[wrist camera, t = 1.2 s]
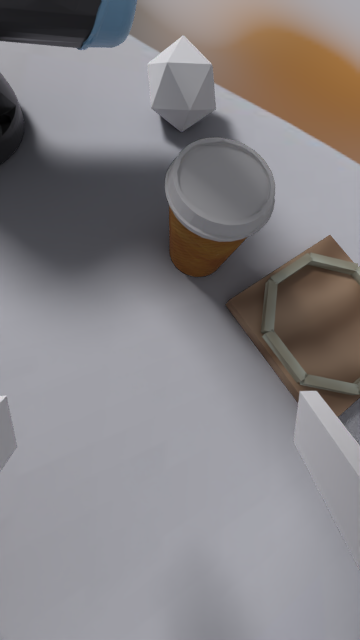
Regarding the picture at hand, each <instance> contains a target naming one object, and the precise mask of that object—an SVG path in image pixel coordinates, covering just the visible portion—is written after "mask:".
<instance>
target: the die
mask: <svg viewBox="0 0 360 640" xmlns="http://www.w3.org/2000/svg"><path fill="white" fill-rule="evenodd" d="M147 69H148V79H149V89H150V100H151V109H153V110H154V111H155V112H156V113H158V114H159V115H160V116H161V117H163V118H164V119H165V120H167V121H168V122H169V123H170V124H172V125H173V126H174V127H175V128H177V129H178V130H179V131H180V132H183V131H184V130H186V129H187V128H189V127H190V126H192V125H193V124H195V123H196V122H198V121H199V120H201V119H202V118H204V117H205V116H207V115H208V114H210V113H211V112H213V111H214V110H216V103H215V91H214V79H213V67H212V64H211V63H210V62H209V61H208V60H207V59H206V58H205V57H204V56H203V55H202V54H201V53H200V52H199V51H198V50H197V49H196V48H195V47H194V45H193V44H192V43H190V41H189V40H188V39H187V38H186V37H185V36H184V35H183V36H182V37H181V38H179V39H178V40H177V41H175V42H174V43H173V44H172V45H170V46H169V47H168V48H167V49H165V50H164V51H163V52H162V53H160V54H159V55H158V56H157V57H155V58H154V59H153V60H152V61H150V62H149V63H148V64H147Z"/></svg>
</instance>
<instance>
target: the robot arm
mask: <svg viewBox="0 0 360 640" xmlns="http://www.w3.org/2000/svg"><path fill="white" fill-rule="evenodd" d="M136 4H137V0H0V41H6V42H17V43H28V44H39V45H51V46H62V47H73V48H77V49H78V50H82V49H83V50H85V49H87V48H88V47H106V48H112V47H115V46H118V45H119V44H121V43H123V42H124V41H125V39H126V38H127V36H128V35H129V32H130V30H131V27H132V23H133V19H134V14H135V10H136ZM23 133H24V118H23V114H22V111H21V108H20V105H19V103H18V100H17V97H16V95H15V93H14V91H13V89H12V88H11V86H10V85H9V83H8V82H7V81H6V79H5V78H4V77H3V75H2V74H1V73H0V164H1V163H3V162H4V161H5V160H7V159H8V158H9V157H10V156H11V155H12V154H13V153H14V151H15V150H16V149H17V147H18V146H19V144H20V142H21V140H22V137H23ZM293 442H294V444H295V446H296V448H297V450H298V452H299V454H300V456H301V457H302V459H303V461H304V463H305V465H306V467H307V469H308V471H309V473H310V475H311V477H312V479H313V481H314V483H315V485H316V487H317V489H318V491H319V493H320V494H321V496H322V498H323V500H324V502H325V504H326V506H327V508H328V510H329V512H330V514H331V516H332V518H333V520H334V522H335V524H336V526H337V528H338V530H339V532H340V533H341V535H342V537H343V539H344V541H345V543H346V545H347V547H348V549H349V551H350V553H351V555H352V557H353V559H354V561H355V563H356V565H357V567H358V569H359V570H360V445H359V444H358V443H357V441H356V440H355V439H354V438H353V436H352V435H351V434H350V432H349V431H348V430H347V429H346V427H345V426H344V425H343V424H342V422H341V421H340V420H339V418H338V417H337V416H336V415H335V413H334V412H333V411H332V410H331V408H330V407H329V406H328V405H327V403H326V402H325V401H324V399H323V398H322V397H321V396H320V394H319V393H318V392H317V391H300V393H299V401H298V409H297V417H296V425H295V433H294V441H293ZM16 448H17V443H16V439H15V434H14V429H13V424H12V420H11V415H10V410H9V405H8V401H7V396H0V472H1V470H2V469H3V467H4V466H5V464H6V463H7V461H8V460H9V458H10V457H11V455H12V454H13V452H14V451H15V449H16Z"/></svg>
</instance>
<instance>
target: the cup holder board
mask: <svg viewBox="0 0 360 640" xmlns="http://www.w3.org/2000/svg"><path fill="white" fill-rule="evenodd" d="M225 305H226V306H227V308H228V309H229V310H230V312H231V313H232V314H233V316H234V317H235V319H236V320H237V321H238V323H239V324H240V325H241V327H242V328H243V329H244V331H245V332H246V333H247V335H248V336H249V337H250V339H251V340H252V341H253V343H254V344H255V346H256V347H257V348H258V350H259V351H260V352H261V354H262V355H263V356H264V358H265V359H266V360H267V362H268V363H269V364H270V366H271V367H272V368H273V370H274V371H275V373H276V374H277V375H278V377H279V378H280V379H281V381H282V382H283V383H284V385H285V386H286V387H287V389H288V390H289V391H290V393H291V394H292V395H293V397H294V398H295V400H296V401H297V402H298V401H299V393H300V391H317V392H318V393H319V394H320V396H321V397H322V398H323V399H324V401H325V402H326V403H327V405H328V406H329V407H330V408H331V410H332V411H333V412H334V413H335V415H336V416H337V417H339V416H340V415H341V414H342V413H343V412H344V411H345V410H346V409H348V408H349V407H350V406H351V405H352V404H353V403H354V402H355V401H356V400H358V399H359V398H360V266H359V267H358V264H357V263H354V262H353V261H352V260H351V259H350V258H349V256H348V255H347V254H346V253H345V252H344V251H343V249H342V248H341V247H340V246H339V245H338V243H337V242H336V241H335V240H334V239H333V238H332V236H331V235H329V236H327V237H326V238H324V239H323V240H321V241H320V242H318V243H317V244H315V245H313V246H312V247H310V248H309V249H307V250H306V251H304V252H303V253H301V254H300V255H298V256H296V257H295V258H293V259H292V260H290V261H289V262H287V263H286V264H284V265H283V266H281V267H279V268H278V269H276V270H275V271H273V272H272V273H270V274H269V275H267V276H266V277H264V278H262V279H261V280H259V281H258V282H256V283H255V284H253V285H252V286H250V287H249V288H247V289H245V290H244V291H242V292H241V293H239V294H238V295H236V296H235V297H233V298H232V299H230V300H229V301H228V302H227V303H226V304H225Z"/></svg>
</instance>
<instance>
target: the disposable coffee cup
mask: <svg viewBox="0 0 360 640" xmlns="http://www.w3.org/2000/svg"><path fill="white" fill-rule="evenodd" d="M165 192H166V198H167V200H168V203H169V229H170V230H169V232H170V233H169V234H170V236H169V237H170V239H169V240H170V249H169V250H170V257H171V260H172V262H173V263H174V265H175V266H176V267H177V268H178V269H179V270H180V271H181V272H183V273H185V274H187V275H190V276H194V277H203V276H207V275H210V274H212V273H213V272H215V271H216V270H217V269H218V268H219V267H220V266H221V264H222V263H223V262H224V261H225V260H226V259H227V258H228V257H229V256H230V255H231V254H232V253H233V252H234V251H235V250H236V249H237V248H238V247H239V246H240V245H241V243H242V242H243V241H244V240H245V239H246V238H247V237H249V236H250V235H252V234H254V233H256V232H257V231H259V230H260V229H261V228H262V227H263V226H264V225H265V224H266V223H267V221H268V220H269V218H270V217H271V214H272V212H273V208H274V202H275V199H274V196H275V181H274V178H273V174H272V171H271V170H270V168H269V166H268V165H267V163H266V162H265V160H264V159H263V158H262V157H261V156H260V155H259V154H258V153H257V152H256V151H255V150H253V149H251V148H250V147H248V146H246V145H245V144H243V143H240V142H238V141H235V140H231V139H226V138H221V137H210V138H204V139H200V140H197V141H195V142H192V143H191V144H189V145H187V146H186V147H185V148H184V149H183V150H182V151H181V152H180V153H179V155H178V156H177V157H176V158H175V159H174V161H173V162H172V163H171V165H170V167H169V169H168V171H167V173H166V179H165Z"/></svg>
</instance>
